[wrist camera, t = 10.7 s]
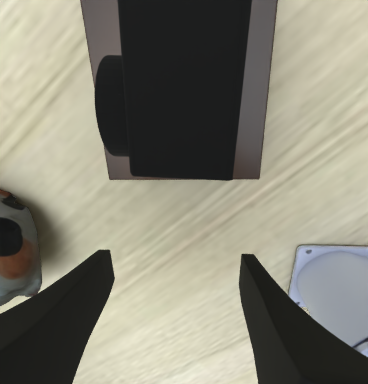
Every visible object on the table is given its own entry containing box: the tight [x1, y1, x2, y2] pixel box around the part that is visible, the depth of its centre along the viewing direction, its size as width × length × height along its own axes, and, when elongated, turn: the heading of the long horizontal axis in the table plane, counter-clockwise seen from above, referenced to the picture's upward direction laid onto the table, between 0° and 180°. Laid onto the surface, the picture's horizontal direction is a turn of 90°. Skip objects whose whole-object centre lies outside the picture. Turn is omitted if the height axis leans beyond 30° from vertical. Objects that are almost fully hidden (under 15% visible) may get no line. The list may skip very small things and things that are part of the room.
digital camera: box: [95, 0, 252, 181], centre depth 11 cm, size 10×5×7 cm, turn 179°
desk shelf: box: [80, 0, 278, 180], centre depth 16 cm, size 11×15×4 cm
